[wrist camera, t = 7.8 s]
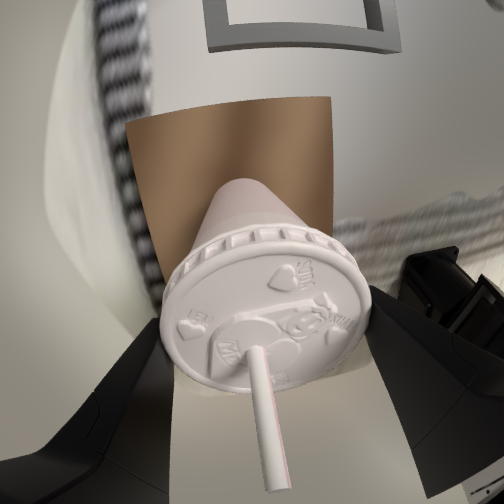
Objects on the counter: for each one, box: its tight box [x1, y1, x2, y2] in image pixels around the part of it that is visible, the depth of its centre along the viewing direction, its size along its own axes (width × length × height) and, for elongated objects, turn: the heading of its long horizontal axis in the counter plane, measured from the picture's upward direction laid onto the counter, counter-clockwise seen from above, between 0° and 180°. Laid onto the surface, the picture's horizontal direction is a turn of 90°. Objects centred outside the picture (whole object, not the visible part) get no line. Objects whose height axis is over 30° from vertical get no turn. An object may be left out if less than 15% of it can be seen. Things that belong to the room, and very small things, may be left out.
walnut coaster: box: [125, 97, 333, 286], centre depth 18 cm, size 12×12×1 cm
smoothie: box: [160, 178, 372, 494], centre depth 10 cm, size 6×6×14 cm
